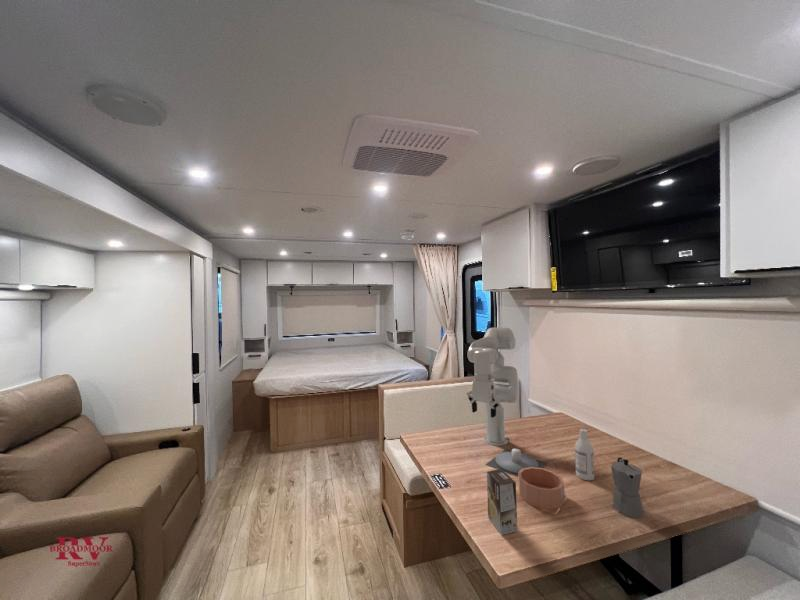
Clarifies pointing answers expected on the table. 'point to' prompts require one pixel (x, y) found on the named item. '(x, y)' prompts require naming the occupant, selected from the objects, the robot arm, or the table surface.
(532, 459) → the lid
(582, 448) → the bath foam
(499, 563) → the table surface
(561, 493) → the bowl
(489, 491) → the coffee box
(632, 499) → the coffeepot
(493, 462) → the mat
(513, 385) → the robot arm
